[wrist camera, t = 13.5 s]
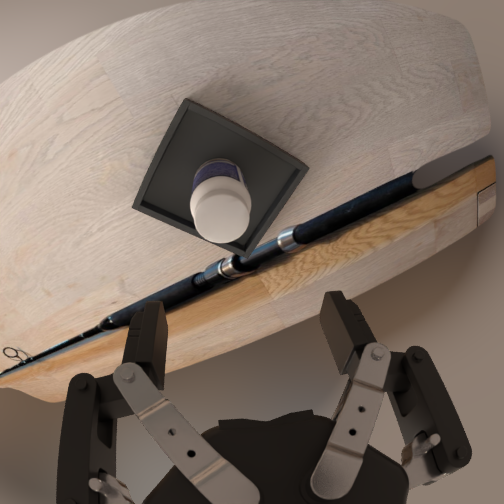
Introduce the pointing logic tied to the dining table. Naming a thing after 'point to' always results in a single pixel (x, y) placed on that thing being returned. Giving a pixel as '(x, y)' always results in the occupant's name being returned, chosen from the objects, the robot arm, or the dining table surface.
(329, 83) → the dining table surface
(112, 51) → the dining table surface
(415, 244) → the dining table surface
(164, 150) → the serving tray
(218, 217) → the pill bottle
